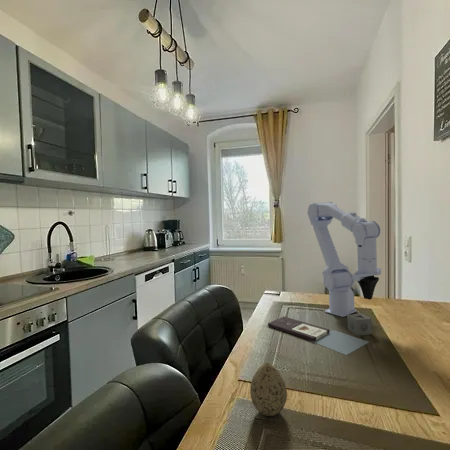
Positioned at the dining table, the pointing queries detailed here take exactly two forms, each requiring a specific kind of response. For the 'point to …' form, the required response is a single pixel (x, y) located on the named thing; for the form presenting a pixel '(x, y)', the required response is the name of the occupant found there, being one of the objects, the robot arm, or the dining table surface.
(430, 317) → the dining table surface
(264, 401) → the decorative egg
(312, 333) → the chocolate bar
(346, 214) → the robot arm
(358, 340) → the mat
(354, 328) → the light grey cube
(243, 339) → the dining table surface
